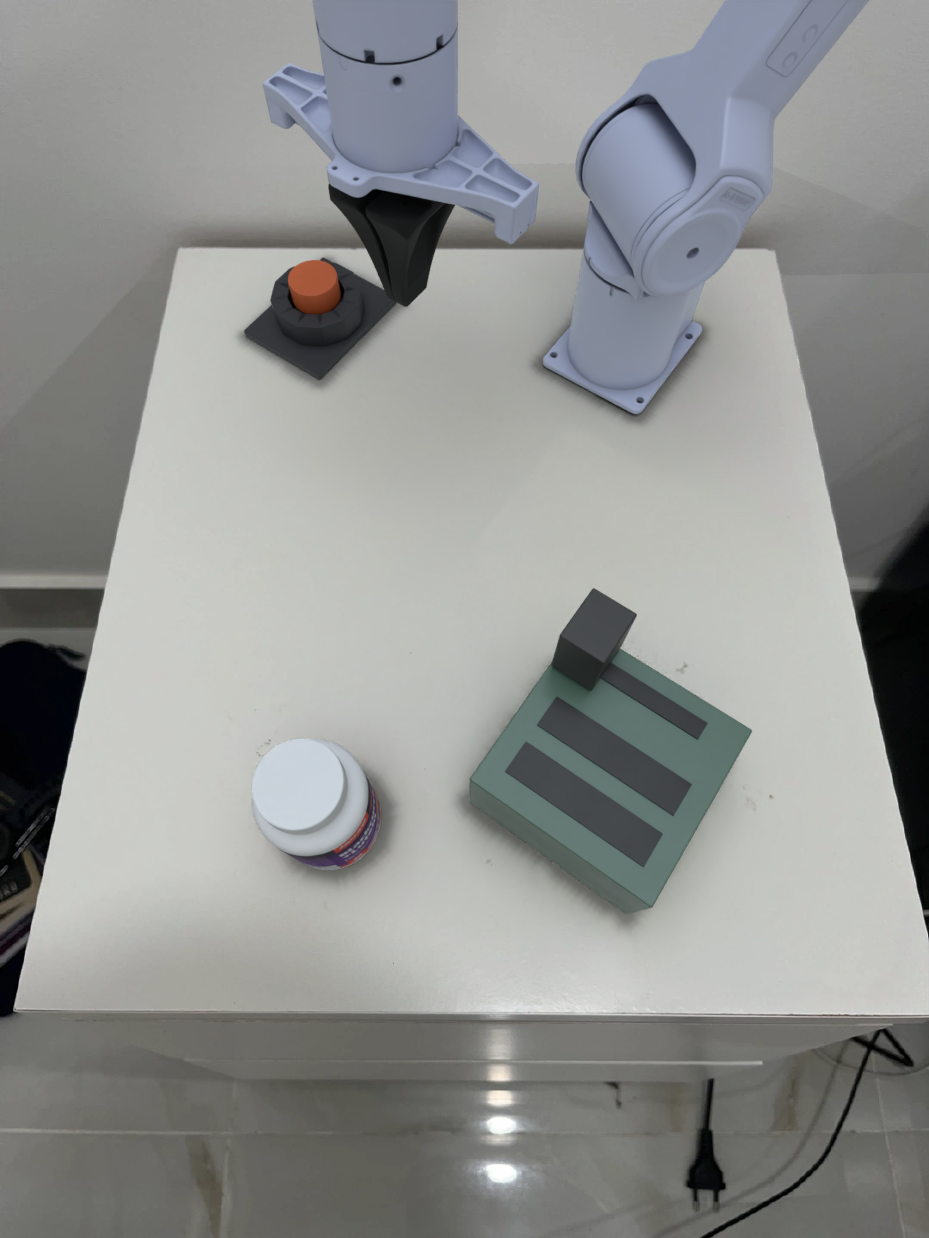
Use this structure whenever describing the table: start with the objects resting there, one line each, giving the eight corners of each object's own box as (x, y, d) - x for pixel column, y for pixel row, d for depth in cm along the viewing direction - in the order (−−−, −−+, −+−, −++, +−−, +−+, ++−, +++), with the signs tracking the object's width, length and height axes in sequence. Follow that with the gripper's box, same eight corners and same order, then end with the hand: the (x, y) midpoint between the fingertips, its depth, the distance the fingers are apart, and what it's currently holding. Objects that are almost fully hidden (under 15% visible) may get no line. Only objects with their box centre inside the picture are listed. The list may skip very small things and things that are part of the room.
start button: (313, 273, 55) (309, 252, 53) (350, 293, 54) (347, 273, 53) (283, 301, 54) (277, 282, 52) (320, 322, 53) (315, 303, 51)
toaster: (565, 662, 45) (579, 621, 39) (716, 758, 43) (754, 729, 37) (468, 802, 42) (469, 778, 36) (626, 914, 39) (652, 908, 34)
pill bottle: (369, 880, 40) (340, 860, 31) (271, 859, 41) (216, 833, 32) (393, 780, 42) (373, 734, 33) (300, 761, 43) (256, 711, 34)
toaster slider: (581, 621, 39) (593, 587, 36) (621, 645, 39) (637, 613, 35) (550, 665, 38) (559, 635, 35) (591, 691, 38) (604, 663, 34)
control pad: (324, 264, 58) (318, 236, 56) (397, 303, 57) (394, 276, 54) (245, 337, 55) (236, 311, 53) (319, 381, 54) (313, 355, 51)
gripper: (186, 6, 31) (263, 278, 43) (477, 145, 28) (470, 396, 40) (299, -70, 33) (342, 209, 46) (579, 50, 30) (543, 315, 42)
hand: (407, 292), depth 43 cm, fingers closed
